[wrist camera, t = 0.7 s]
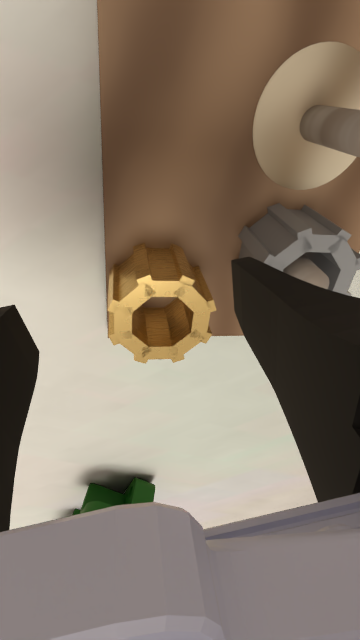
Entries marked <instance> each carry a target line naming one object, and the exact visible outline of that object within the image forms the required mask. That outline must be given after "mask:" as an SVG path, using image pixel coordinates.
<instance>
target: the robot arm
mask: <svg viewBox="0 0 360 640" xmlns="http://www.w3.org/2000/svg"><path fill="white" fill-rule="evenodd" d="M231 267H232V283H233V298H234V311H235V314H236V317H237V319H238V322H239V325H240V327H241V330H242V332H243V334H244V336H245V338H246V340H247V342H248V344H249V345H250V347H251V349H252V351H253V353H254V354H255V356H256V358H257V360H258V361H259V363H260V365H261V367H262V368H263V370H264V372H265V374H266V376H267V377H268V379H269V381H270V383H271V385H272V387H273V389H274V391H275V393H276V395H277V397H278V400H279V402H280V405H281V407H282V409H283V412H284V414H285V416H286V419H287V421H288V424H289V426H290V429H291V431H292V434H293V436H294V439H295V441H296V444H297V446H298V449H299V452H300V454H301V457H302V460H303V462H304V465H305V468H306V470H307V473H308V476H309V478H310V481H311V484H312V487H313V489H314V492H315V495H316V498H317V501H318V503H314V504H310V505H306V506H301V507H297V508H293V509H289V510H284V511H280V512H276V513H271V514H267V515H263V516H259V517H254V518H250V519H246V520H242V521H237V522H233V523H229V524H224V525H220V526H216V527H212V528H207V529H203V528H202V526H201V525H200V524H199V523H198V522H197V521H196V520H195V519H194V518H193V517H192V515H191V514H190V513H189V512H187V511H185V510H184V509H182V508H179V507H174V506H170V505H165V504H161V503H156V502H148V503H137V504H126V505H117V506H112V507H108V508H104V509H99V510H95V511H91V512H86V513H82V514H78V515H73V516H69V517H64V518H60V519H56V520H51V521H47V522H43V523H38V524H34V525H30V526H25V527H21V528H16V529H12V530H9V526H10V513H11V503H12V494H13V486H14V477H15V470H16V463H17V456H18V450H19V445H20V441H21V436H22V432H23V429H24V425H25V421H26V418H27V414H28V410H29V406H30V403H31V399H32V395H33V391H34V387H35V383H36V379H37V373H38V363H39V350H38V348H37V346H36V345H35V343H34V341H33V339H32V337H31V335H30V333H29V331H28V329H27V327H26V326H25V324H24V322H23V320H22V318H21V316H20V314H19V312H18V310H17V309H16V307H15V305H11V306H6V307H1V308H0V640H360V298H356V297H352V296H348V295H345V294H341V293H338V292H334V291H331V290H328V289H325V288H322V287H319V286H316V285H313V284H311V283H308V282H306V281H303V280H300V279H298V278H296V277H293V276H291V275H289V274H287V273H284V272H282V271H280V270H278V269H276V268H274V267H272V266H269V265H267V264H265V263H263V262H261V261H259V260H257V259H254V258H252V257H244V258H239V259H234V260H231Z"/></svg>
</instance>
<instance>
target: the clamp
mask: <svg viewBox="0 0 360 640" xmlns="http://www.w3.org/2000/svg"><path fill="white" fill-rule="evenodd" d="M154 493H155V485H154V484H152V483H149V482H146V481H144V480H141V479H138V478H136V477H135V478H134V479H133V481H132V482H131V484H130V485H129V487H128V488H127V489H126V491H125V492H124V494H121V493H118V492H116V491H113V490H110V489H107V488H105V487H102V486H99V485H97V484H93V483H90V485H89V487H88V490H87V493H86V496H85V499H84V502H83V505H82V508H81V510H79V509H75V511H74V513H73V515H78V514H82V513H86V512H91V511H95V510H99V509H104V508H108V507H112V506H117V505H126V504H137V503H148V502H153V500H154Z"/></svg>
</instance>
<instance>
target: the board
mask: <svg viewBox="0 0 360 640" xmlns="http://www.w3.org/2000/svg"><path fill="white" fill-rule="evenodd" d="M97 10H98V41H99V72H100V103H101V135H102V166H103V197H104V228H105V260H106V291H107V322H108V332H109V311H108V289H109V273H110V271H111V269H112V266H113V264H115V265H118V266H120V265H121V264H122V263H123V262H124V261H125V260H126V259H128V258H129V257H130V256H131V255H132V254H133V253H134V251H133V246H136V245H139V244H142V243H144V242H145V245H146V247H147V248H170V246H171V244H175V245H177V246H179V247H181V248H183V251H184V253H185V256H186V259H187V261H188V262H189V263H190V264H191V266H192V267H196V266H199V268H200V270H201V272H202V275H203V277H204V279H205V282H206V284H207V286H208V288H209V291H210V293H211V295H212V298H213V300H214V303H215V307H216V311H213V312H210V318H209V327H210V330H211V332H212V335H211V336H242V335H244V334H243V332H242V330H241V327H240V325H239V322H238V319H237V317H236V314H235V311H234V298H233V283H232V267H231V260H234V259H239V254H240V249H241V245H242V241H241V239H240V238H239V237H238V236H239V234H240V232H241V231H242V229H243V228H244V226H246V227H248V228H250V227H251V226H252V225H254V224H255V223H256V222H257V221H259V220H260V219H261V218H262V217H264V216H265V215H266V214H267V213H268V209H267V207H269V206H272V205H275V204H278V203H280V204H281V205H282V206H284V207H285V208H286V209H294V210H301V209H302V208H303V206H304V205H306V206H308V207H310V208H311V209H313V210H315V211H316V212H318V213H319V214H321V215H322V216H324V217H325V218H327V219H328V220H330V221H331V222H333V223H334V224H336V225H337V226H339V227H340V228H342V229H343V230H345V231H346V232H348V233H349V234H351V237H350V238H349V239H348V241H347V242H348V244H349V246H350V247H351V248H352V249H353V250H354V251H356V252H357V253H359V251H360V0H97ZM283 272H284V273H287V274H289V275H291V276H293V277H296V278H298V279H300V280H303V281H306V282H308V283H311V284H313V285H316V286H319V287H322V288H325V289H328V287H329V278H328V276H327V275H326V274H325V273H324V272H323V271H322V270H321V269H319V268H318V267H317V266H316V265H315V264H314V263H313V262H312V261H311V260H310V259H309V258H308V257H307V256H306V255H304V254H303V255H302V256H300V257H299V258H298V259H296V260H295V261H294V262H292V263H291V264H290V265H288V266H287V267H285V268H284V269H283ZM176 298H177V297H151V298H149V299H148V300H147V301H146V302H144V303H143V304H142V306H143V307H144V308H165V307H166V306H167V305H168V304H170V303H171V302H172V301H173V300H175V299H176ZM108 338H109V336H108Z"/></svg>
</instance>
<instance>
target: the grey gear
mask: <svg viewBox="0 0 360 640" xmlns="http://www.w3.org/2000/svg"><path fill="white" fill-rule="evenodd" d="M267 209H268V213H267V214H266V215H265V216H264V217H262V218H261V219H260V220H259V221H257V222H256V223H255V224H254V225H252V226H251V227H250V228H248V227H246V226H244V228H243V229H242V231H241V232H240V234H239V236H238V237H239V238H240V239H241V241H242V245H241V249H240V254H239V258H244V257H252V258H254V259H257V260H259V261H261V262H263V263H265V264H267V265H269V266H272V267H274V268H276V269H278V270H280V271H282V272H283V269H284V268H285V267H287V266H288V265H290V264H291V263H292V262H294V261H295V260H296V259H298V258H299V257H300V256H302V255H303V254H304V255H306V256H307V257H308V258H309V259H310V260H311V261H312V262H313V263H314V264H315V265H316V266H317V267H318V268H319V269H321V270H322V271H323V272H324V273H325V274H326V275H327V276H328V278H329V287H328V290H331V291H334V292H338V293H341V294H345V295H348V296H350V295H351V294H350V293H349V292H348V289H349V287H350V284H351V282H352V280H353V277H354V275H355V273H356V270H359V269H360V254H359V253H357V252H356V251H354V250H353V249H352V248H351V247H350V246H349V244H348V242H347V241H348V239H349V238H350V237H351V234H349V233H348V232H346V231H345V230H343V229H342V228H340V227H339V226H337V225H336V224H334V223H333V222H331V221H330V220H328V219H327V218H325V217H324V216H322V215H321V214H319V213H318V212H316V211H315V210H313V209H311V208H310V207H308V206H306V205H304V206H303V208H302V209H301V210H294V209H286V208H285V207H284V206H282V205H281V204H280V203H278V204H275V205H272V206H269V207H267Z"/></svg>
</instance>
